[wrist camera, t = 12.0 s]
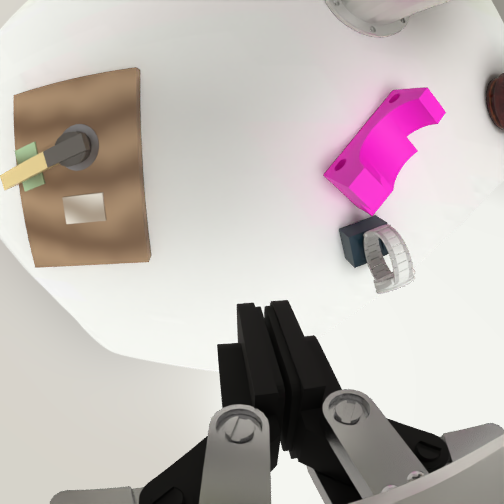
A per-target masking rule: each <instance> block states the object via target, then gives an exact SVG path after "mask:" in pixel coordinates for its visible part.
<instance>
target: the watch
mask: <svg viewBox="0 0 504 504" xmlns="http://www.w3.org/2000/svg"><path fill="white" fill-rule="evenodd" d="M339 232H340V236H341V240H342V245H343V249H344V254H345V258H346V259H347V260H348V261H349V262H350V263H351V264H352V265H353V266H354V268H356V267H358V266H361V265H363V264H366V263H368V266H369V269H370V271H371V270H372V271H371V273H372V275H373V277H374V279H375V280H374V284H375V288H376V292H377V293H378V294H381V293H386V292H389V291H393V290H396V289H398V288H401V287H403V286H405V285H407V284H409V283H410V282H412V281H413V280H414V279H415V276H414V274H415V270H414V269H413V265H412V261H411V256H410V253H408V252H409V250H408V248H407V246H406V244H405V242H404V240H403V239H402V237H401V236H400V234H399V233H398V232H397V231H396V230H395V229H394V228H392V227H391V225H387V222H385V221H384V220H382V219H380V218H379V217H377V216H376V215H375V216H373V217H370V218H367V219H365V220H362V221H359V222H357V223H354V224H351V225H349V226H346V227H343V228H341V229H339ZM395 245H396V246H395ZM403 251H404V252H403ZM401 252H402V253H401ZM399 253H400V254H399ZM387 254H389V256H390V259H391V262H392V266H393V272H391V271H390V270H389V268H388V266H387V265H385V264H386V262H385V260H384V258H383V256H385V255H387ZM394 258H395V259H394ZM392 259H393V260H392ZM369 263H370V264H369ZM379 264H380V265H379ZM374 266H375V267H374Z"/></svg>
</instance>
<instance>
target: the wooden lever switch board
mask: <svg viewBox="0 0 504 504" xmlns="http://www.w3.org/2000/svg"><path fill="white" fill-rule="evenodd" d="M76 131H80V132H84V133H86V134H87V135H88V137H89V138H90V141H91V145H92V147H91V153H90V155H89V157H88V158H87V159H86V160H85V161H84V162H82V163H79V164H76V165H73V166H70V167H65V166H62V165H61V164H58V165H56V166H54V167H52V168H50V169H48V170H46V171H44V172H41V173H40V174H38V175H36V176H34V177H32V178H30V179H28V180H26V181H24V182H22V183H20V184H19V188H20V195H21V201H22V207H23V213H24V219H25V224H26V229H27V234H28V238H29V243H30V247H31V252H32V256H33V260H34V264H35V267H57V266H78V265H98V264H118V263H138V262H149V260H150V257H151V250H150V241H149V233H148V224H147V214H146V204H145V193H144V180H143V166H142V148H141V122H140V70H139V69H138V68H136V67H135V68H128V69H121V70H115V71H109V72H104V73H98V74H93V75H88V76H83V77H79V78H74V79H70V80H66V81H62V82H58V83H54V84H50V85H46V86H43V87H39V88H36V89H32V90H29V91H26V92H23V93H20V94H17V95H14V136H15V155H16V162H17V165H19V164H21V163H23V162H24V161H26V160H28V159H30V158H32V157H34V156H36V155H37V154H39V153H41V152H43V151H45V150H47V149H49V148H51V147H53V146H55V143H56V141H57V139H58V138H59V137H60V136H61V135H62V134H64V133H67V132H76Z"/></svg>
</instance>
